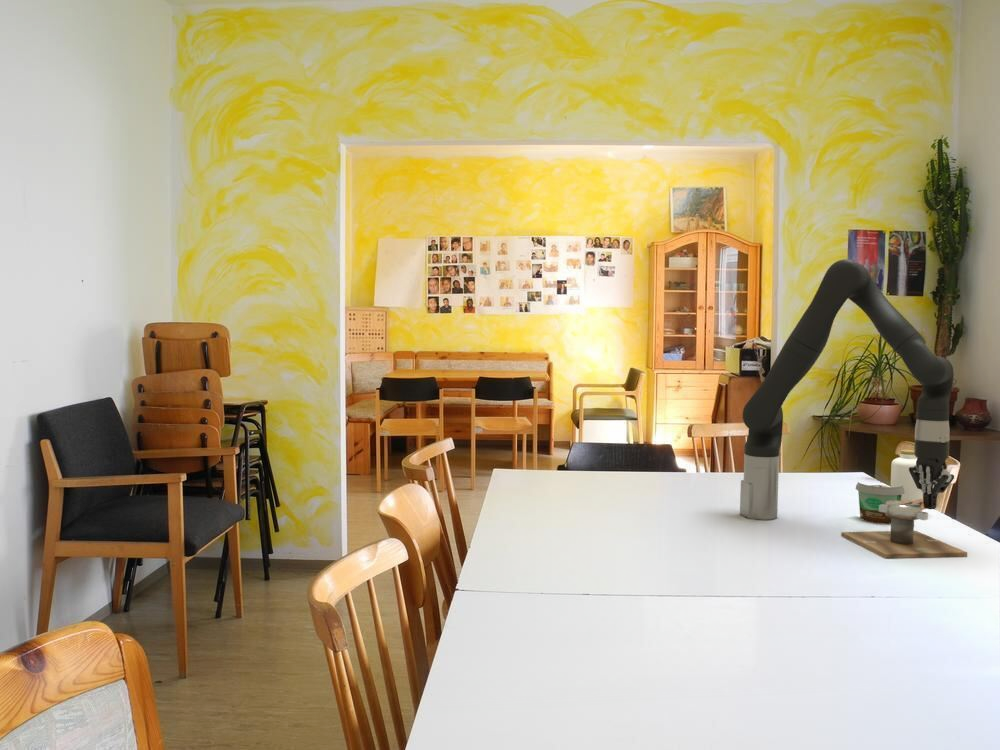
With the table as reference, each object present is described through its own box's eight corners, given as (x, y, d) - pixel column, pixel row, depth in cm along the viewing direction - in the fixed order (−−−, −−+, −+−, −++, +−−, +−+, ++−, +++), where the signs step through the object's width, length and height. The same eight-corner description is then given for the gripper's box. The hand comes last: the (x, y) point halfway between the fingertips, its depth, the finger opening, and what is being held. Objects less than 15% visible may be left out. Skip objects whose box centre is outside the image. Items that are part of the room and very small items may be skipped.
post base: (885, 558, 193) (886, 528, 192) (841, 535, 213) (842, 508, 212) (967, 556, 195) (968, 526, 194) (915, 534, 215) (916, 507, 214)
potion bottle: (915, 510, 241) (917, 448, 240) (927, 517, 233) (929, 453, 232) (885, 510, 242) (887, 448, 241) (895, 516, 234) (898, 452, 233)
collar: (918, 523, 196) (918, 509, 196) (872, 513, 205) (872, 500, 205) (950, 513, 206) (950, 500, 206) (904, 505, 215) (905, 493, 215)
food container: (852, 521, 229) (853, 484, 228) (854, 516, 234) (855, 481, 233) (902, 526, 223) (904, 489, 222) (903, 521, 228) (905, 485, 228)
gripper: (899, 435, 210) (897, 504, 211) (939, 442, 197) (937, 515, 198) (925, 434, 212) (923, 502, 213) (965, 441, 199) (963, 513, 200)
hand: (929, 508), depth 206 cm, fingers closed
